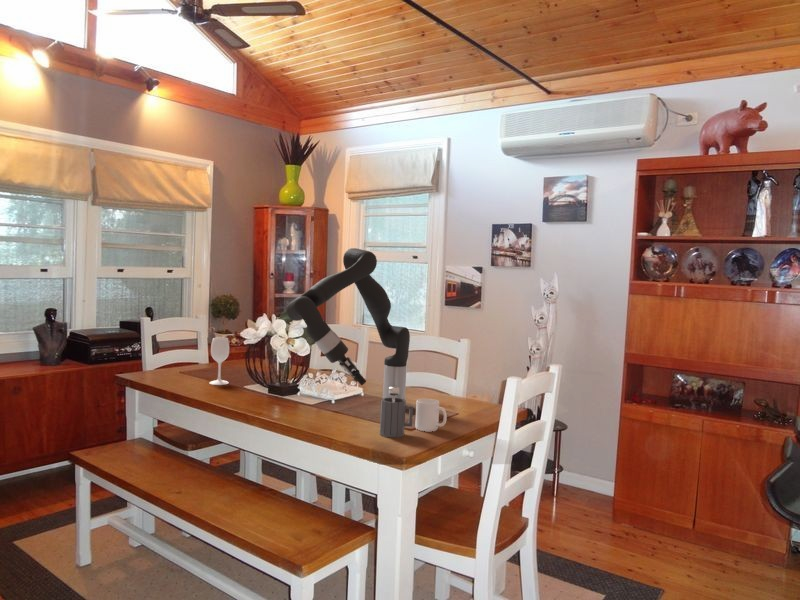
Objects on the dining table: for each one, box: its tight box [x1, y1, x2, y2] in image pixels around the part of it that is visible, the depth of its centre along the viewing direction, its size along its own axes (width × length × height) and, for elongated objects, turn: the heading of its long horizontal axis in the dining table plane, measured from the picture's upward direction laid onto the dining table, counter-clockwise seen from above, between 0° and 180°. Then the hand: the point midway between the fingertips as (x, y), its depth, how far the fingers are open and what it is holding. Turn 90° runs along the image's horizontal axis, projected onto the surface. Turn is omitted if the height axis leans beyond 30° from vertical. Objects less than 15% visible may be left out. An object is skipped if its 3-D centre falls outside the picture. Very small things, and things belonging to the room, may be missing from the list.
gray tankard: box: [379, 397, 414, 439], centre depth 203 cm, size 8×11×12 cm
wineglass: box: [209, 336, 230, 386], centre depth 271 cm, size 9×9×21 cm
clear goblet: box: [389, 386, 399, 402], centre depth 202 cm, size 5×5×12 cm
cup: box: [414, 398, 448, 433], centre depth 211 cm, size 8×12×10 cm
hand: (361, 381), depth 201 cm, fingers open, 8 cm apart
